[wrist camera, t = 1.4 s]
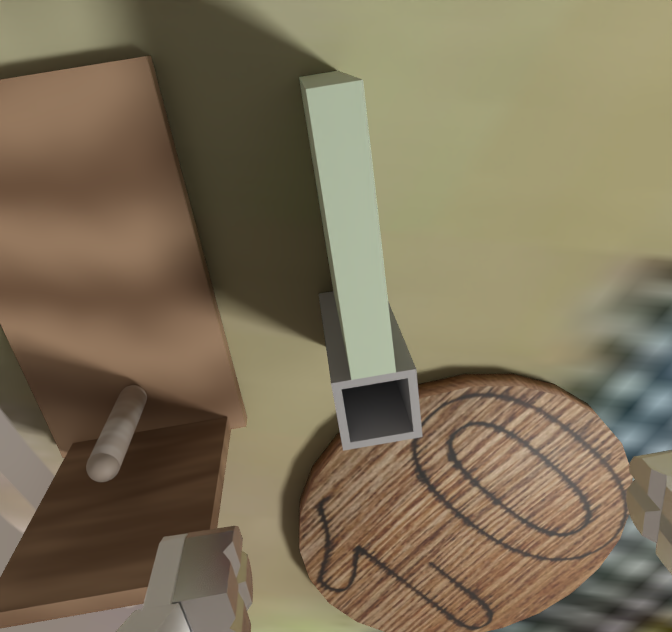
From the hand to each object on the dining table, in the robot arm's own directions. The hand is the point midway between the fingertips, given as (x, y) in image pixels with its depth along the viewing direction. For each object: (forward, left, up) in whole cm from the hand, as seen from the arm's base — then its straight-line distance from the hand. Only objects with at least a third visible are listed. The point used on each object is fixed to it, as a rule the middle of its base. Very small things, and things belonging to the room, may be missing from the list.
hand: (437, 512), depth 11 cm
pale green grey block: (0, 0, -22) cm, 22 cm away
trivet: (+24, +6, -23) cm, 34 cm away
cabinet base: (+1, -14, -22) cm, 26 cm away
